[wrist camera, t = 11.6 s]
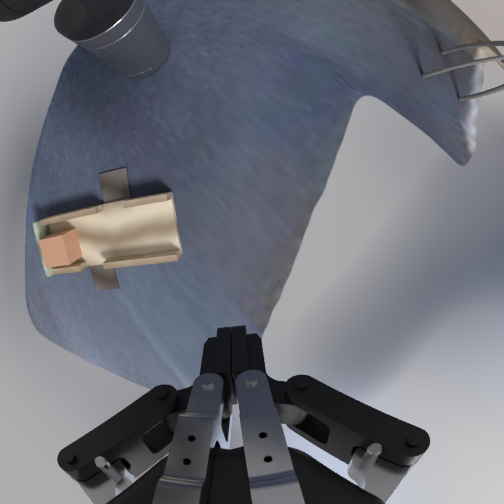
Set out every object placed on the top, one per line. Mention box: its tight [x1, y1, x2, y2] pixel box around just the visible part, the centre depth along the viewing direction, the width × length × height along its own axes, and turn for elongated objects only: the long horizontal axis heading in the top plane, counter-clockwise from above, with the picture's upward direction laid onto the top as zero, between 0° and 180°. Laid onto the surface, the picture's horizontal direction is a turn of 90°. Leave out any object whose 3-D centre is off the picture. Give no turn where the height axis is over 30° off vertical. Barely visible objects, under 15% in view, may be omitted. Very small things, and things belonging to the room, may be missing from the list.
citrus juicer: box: [422, 41, 504, 101], centre depth 20 cm, size 11×10×30 cm
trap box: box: [33, 168, 182, 290], centre depth 39 cm, size 20×26×4 cm
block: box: [39, 228, 83, 268], centre depth 38 cm, size 5×6×4 cm
